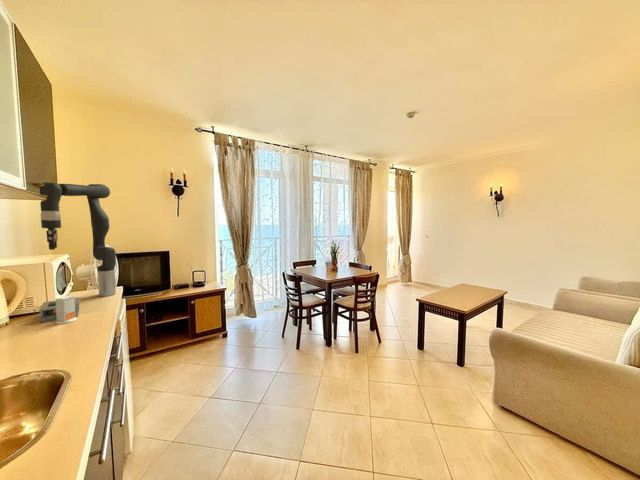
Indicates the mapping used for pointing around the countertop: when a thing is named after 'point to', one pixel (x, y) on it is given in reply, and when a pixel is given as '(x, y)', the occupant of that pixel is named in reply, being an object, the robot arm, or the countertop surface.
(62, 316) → the skincare box
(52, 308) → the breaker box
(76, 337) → the countertop surface
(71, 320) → the coaster
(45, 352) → the countertop surface
